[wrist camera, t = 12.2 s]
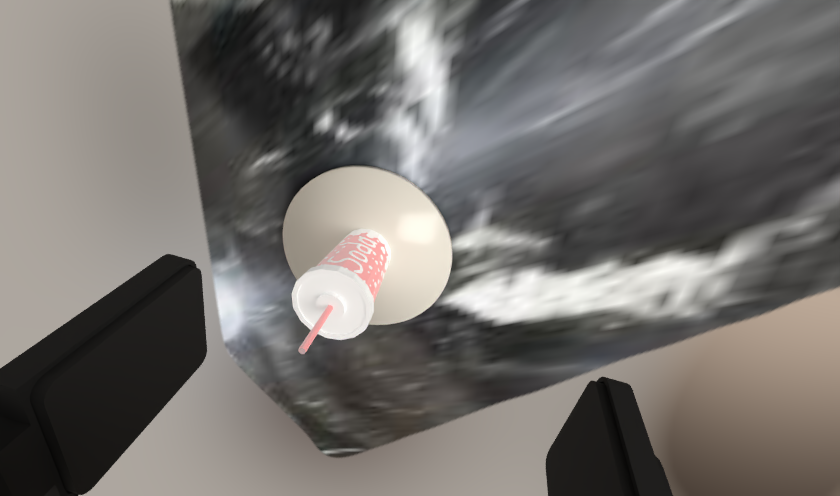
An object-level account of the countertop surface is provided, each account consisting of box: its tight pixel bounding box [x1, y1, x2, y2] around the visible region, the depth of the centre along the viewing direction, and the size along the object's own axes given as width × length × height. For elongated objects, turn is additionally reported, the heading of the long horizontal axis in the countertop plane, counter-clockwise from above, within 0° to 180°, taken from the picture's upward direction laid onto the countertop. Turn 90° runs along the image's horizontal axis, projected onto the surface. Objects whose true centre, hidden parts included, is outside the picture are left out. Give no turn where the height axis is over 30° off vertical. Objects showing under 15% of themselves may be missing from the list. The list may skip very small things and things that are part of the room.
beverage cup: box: [292, 229, 391, 354], centre depth 32 cm, size 6×6×14 cm
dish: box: [283, 165, 452, 325], centre depth 39 cm, size 16×16×1 cm
